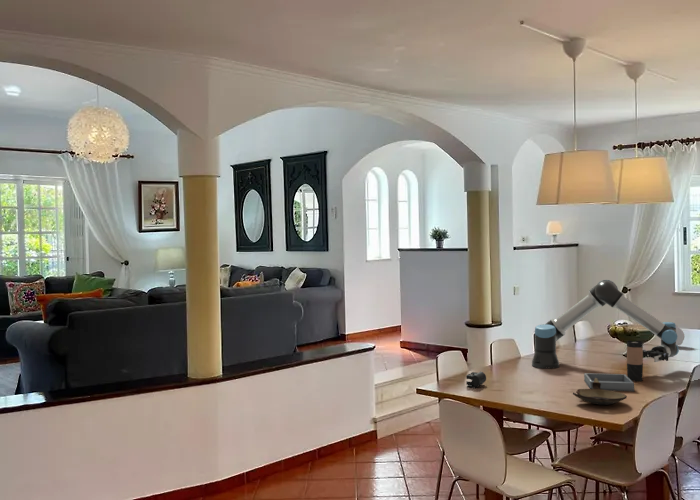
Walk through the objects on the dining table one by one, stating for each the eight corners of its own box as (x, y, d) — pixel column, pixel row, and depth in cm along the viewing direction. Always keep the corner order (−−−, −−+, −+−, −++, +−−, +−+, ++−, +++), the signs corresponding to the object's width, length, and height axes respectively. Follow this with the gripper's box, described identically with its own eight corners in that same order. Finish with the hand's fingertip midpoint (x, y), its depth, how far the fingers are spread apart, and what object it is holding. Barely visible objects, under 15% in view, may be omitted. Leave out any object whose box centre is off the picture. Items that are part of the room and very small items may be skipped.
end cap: (479, 389, 319) (479, 375, 318) (466, 387, 322) (465, 374, 322) (486, 385, 327) (486, 371, 327) (473, 383, 331) (473, 370, 331)
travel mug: (636, 382, 329) (636, 343, 328) (623, 379, 335) (623, 341, 335) (646, 380, 332) (646, 342, 332) (633, 377, 339) (633, 340, 339)
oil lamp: (566, 406, 286) (565, 388, 285) (586, 392, 310) (586, 376, 309) (618, 413, 272) (618, 395, 272) (635, 398, 296) (635, 382, 296)
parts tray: (590, 389, 314) (590, 381, 314) (584, 380, 333) (584, 373, 333) (634, 391, 310) (634, 383, 310) (625, 382, 329) (625, 374, 329)
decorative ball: (656, 346, 430) (656, 324, 430) (664, 344, 439) (664, 322, 439) (680, 349, 419) (680, 326, 419) (687, 346, 428) (687, 324, 428)
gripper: (684, 362, 342) (666, 368, 328) (637, 356, 361) (619, 361, 347) (684, 348, 341) (666, 353, 328) (637, 343, 361) (619, 347, 347)
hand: (641, 357), depth 337 cm, fingers open, 13 cm apart
